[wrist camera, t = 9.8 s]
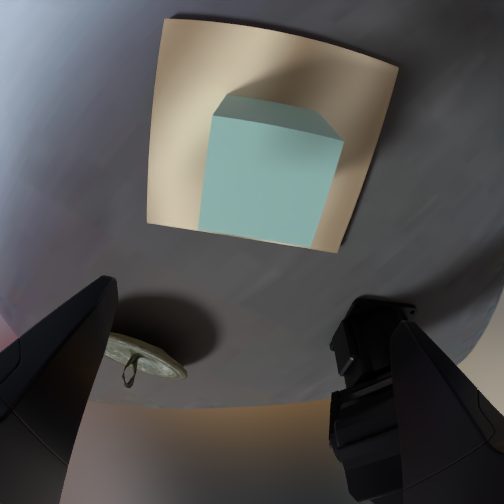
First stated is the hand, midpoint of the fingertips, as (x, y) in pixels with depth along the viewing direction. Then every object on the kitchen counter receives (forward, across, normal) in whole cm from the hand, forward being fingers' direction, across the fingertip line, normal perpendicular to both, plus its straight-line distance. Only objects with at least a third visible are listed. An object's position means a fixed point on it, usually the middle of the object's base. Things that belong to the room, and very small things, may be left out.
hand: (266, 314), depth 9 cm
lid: (+12, +8, +19) cm, 24 cm away
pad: (+12, 0, -2) cm, 12 cm away
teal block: (+11, 0, -2) cm, 11 cm away
